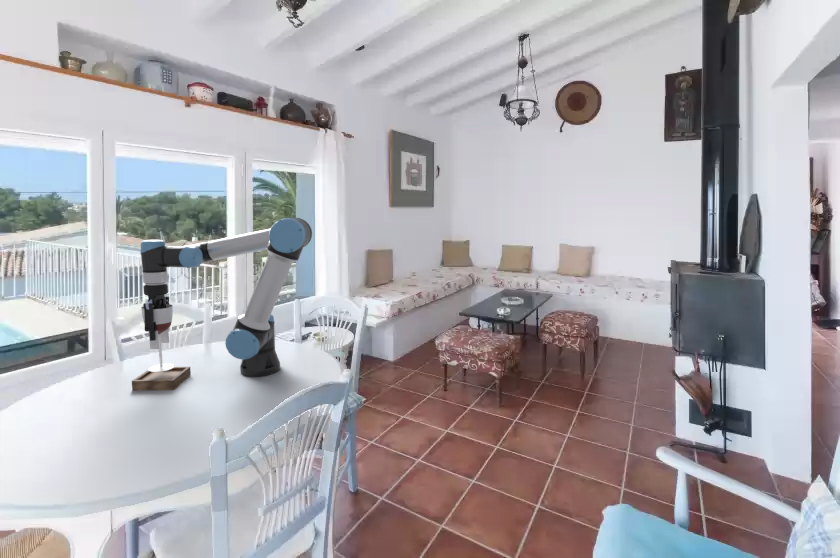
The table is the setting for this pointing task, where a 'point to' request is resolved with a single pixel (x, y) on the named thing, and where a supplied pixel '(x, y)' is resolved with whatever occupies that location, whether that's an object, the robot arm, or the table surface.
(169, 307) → the wineglass
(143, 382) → the tray
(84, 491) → the table surface
